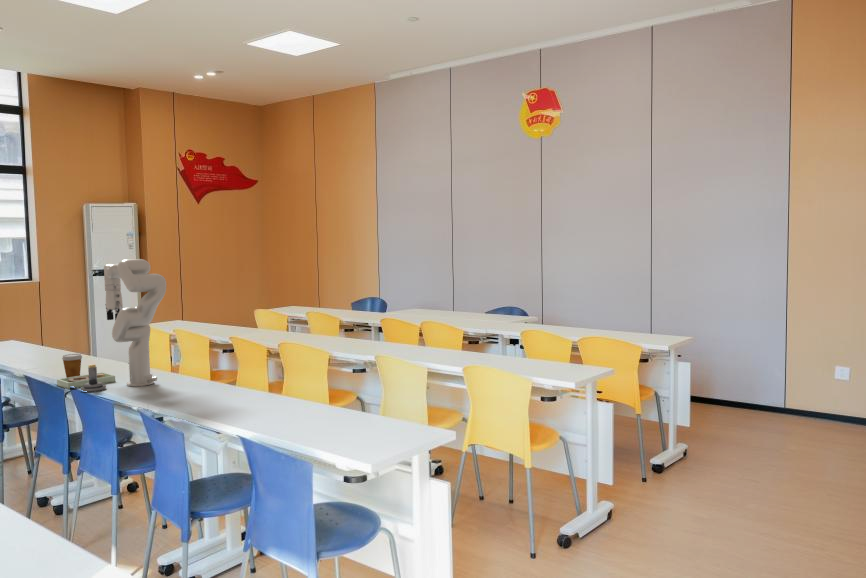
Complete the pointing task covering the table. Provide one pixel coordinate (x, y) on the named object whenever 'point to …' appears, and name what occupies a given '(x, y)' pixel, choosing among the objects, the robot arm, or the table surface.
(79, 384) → the tray
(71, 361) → the disposable coffee cup
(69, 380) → the ring
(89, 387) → the post
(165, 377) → the table surface
